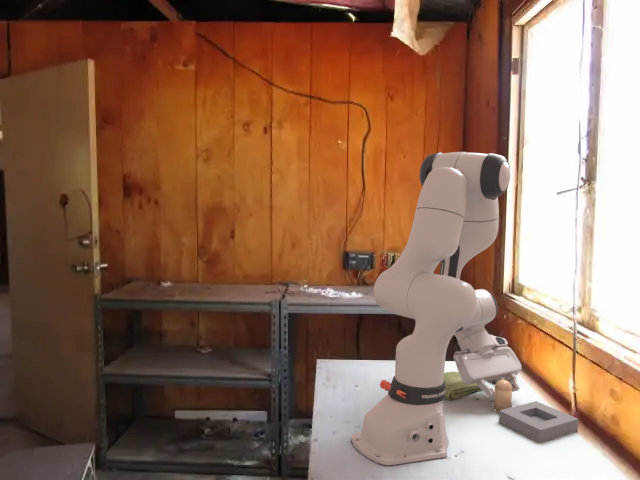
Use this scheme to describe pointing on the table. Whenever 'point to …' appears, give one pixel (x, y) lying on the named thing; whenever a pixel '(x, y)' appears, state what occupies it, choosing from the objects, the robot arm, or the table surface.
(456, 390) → the washcloth
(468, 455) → the table surface
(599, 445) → the table surface
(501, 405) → the peach dome-topped peg
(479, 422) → the table surface
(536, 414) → the grey square peg hole
